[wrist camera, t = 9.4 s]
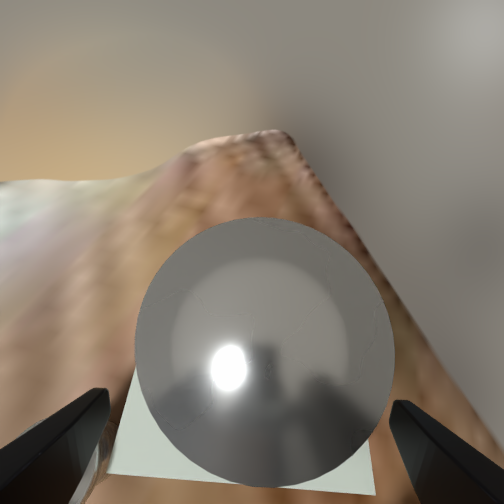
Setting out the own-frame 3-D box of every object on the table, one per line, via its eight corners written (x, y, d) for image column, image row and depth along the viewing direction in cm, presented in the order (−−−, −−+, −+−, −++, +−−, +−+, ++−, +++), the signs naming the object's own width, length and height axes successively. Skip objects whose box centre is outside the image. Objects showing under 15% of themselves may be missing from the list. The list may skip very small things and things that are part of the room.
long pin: (259, 424, 16) (348, 579, 3) (204, 388, 17) (72, 371, 4) (287, 361, 18) (417, 275, 5) (236, 331, 19) (225, 189, 6)
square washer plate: (344, 471, 15) (375, 494, 12) (136, 455, 15) (105, 473, 12) (330, 313, 20) (348, 296, 17) (173, 300, 20) (159, 281, 17)
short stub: (119, 503, 14) (69, 548, 10) (44, 496, 14) (-38, 540, 10) (142, 412, 16) (108, 419, 12) (76, 407, 16) (21, 412, 12)
